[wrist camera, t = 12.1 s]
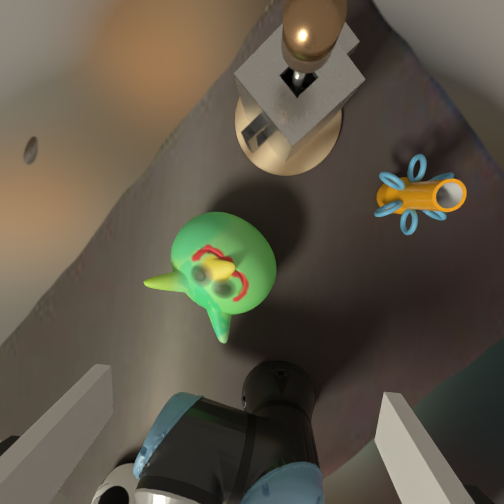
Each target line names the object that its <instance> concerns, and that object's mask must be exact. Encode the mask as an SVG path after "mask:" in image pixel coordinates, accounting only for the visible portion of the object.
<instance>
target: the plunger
mask: <svg viewBox="0 0 504 504" xmlns="http://www.w3.org/2000/svg"><path fill="white" fill-rule="evenodd" d="M346 15H347V2H346V0H286V4H285V8H284V18H283V30H282V41H281V50H282V55H283V58H284V60H285V62H286V63H287V65H288V66H289V67H290V68H291V69H293V70H294V75H293V77H288V78H285V79H283V81H284V82H285V83H286V85H287V86H288V87H289V89H290V90H291V91H292V92H293V94H294V95H295V96H296V97H297V98H298V97H299V96H300V95H301V94H302V93H303V92H304V91H305V90H306V89H307V88H308V87H309V86H310V84H309V83H308V82H307V81H305V80H304V77H305V74H306V73H312V72H315V71H317V70H319V69H320V68H321V67H323V66H324V65H325V63H326V62H327V61H328V59H329V57H330V55H331V53H332V51H333V49H334V46H335V44H336V42H337V39H338V37H339V35H340V33H341V30H342V28H343V26H344V23H345V20H346Z"/></svg>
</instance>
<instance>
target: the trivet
mask: <svg viewBox="0 0 504 504" xmlns="http://www.w3.org/2000/svg"><path fill="white" fill-rule="evenodd" d="M341 118H342V113H341V110H340V111H339V112H338V113H337V114H336V116H335V117H334V118H333V119H332V120H331V122H330V123H329V124H328V125H326V126H325V127H324V128H323V129H322V130H321V131H320V132H319V133H318V134H317V135H315V136H314V137H313V138H312V139H311V140H310V141H309V142H308V143H307V144H305V145H304V146H303V147H302V148H301V149H300V150H299V151H298V152H297V153H296V154H294V155H293V156H292V157H291V158H290V159H289V160H288V161H287V162H286V163H283V162H282V161H281V160H280V158H279V157H278V156H277V155H276V154H275V152H274V151H273V150H272V149H271V148H270V146H269V145H268V144H267V143H266V142H265V143H264V144H263V145H262V146H261V147H260V148H259V149H258V150H257V151H255V152H254V153H252V152H251V151H250V150H249V149H248V147H247V145H246V143H245V141H244V138H243V136H242V134H241V132H242V131H243V130H244V129H245V128H246V127H247V126H248V125H249V124H250V122H249V121H248V120H247V119H246V115H245V112H244V108H243V105H242V101H241V97H240V98H239V100H238V103H237V108H236V114H235V127H236V134H237V137H238V141H239V143H240V146H241V147H242V149H243V151H244V153H245V154H246V156H247V157H248V158H249V159H250V160H251V161H252V162H253V163H254V164H255V165H256V166H257V167H259V168H261V169H262V170H264V171H266V172H269V173H271V174H275V175H281V176H290V175H297V174H300V173H303V172H306V171H308V170H310V169H312V168H313V167H315V166H316V165H318V164H319V163H320V162H321V161H322V160H323V159H324V158H325V157H326V156H327V155H328V154H329V152H330V151H331V150H332V148H333V146H334V145H335V142H336V140H337V138H338V135H339V132H340V127H341Z"/></svg>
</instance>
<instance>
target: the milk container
mask: <svg viewBox="0 0 504 504" xmlns="http://www.w3.org/2000/svg"><path fill="white" fill-rule="evenodd" d="M133 466H134V462H131V463H126V464H122V465H120V466H118V467H117V468H115V469H114V470H112V471H111V472H110V473H109V474H108V475H107V477H106V478H105V479H104V480H103V482H102V483H101V485H100V486H99V488H98V490H97V491H96V493H95V496H94V498H93V501H92V504H136V502H135V498H134V493H135V490H136V488H137V485H138V483H139V480H140V478H139V479H137V478H136V476H135V475H134V474H133Z"/></svg>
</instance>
